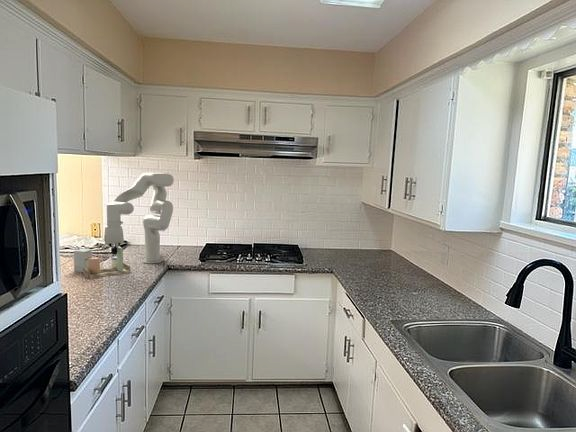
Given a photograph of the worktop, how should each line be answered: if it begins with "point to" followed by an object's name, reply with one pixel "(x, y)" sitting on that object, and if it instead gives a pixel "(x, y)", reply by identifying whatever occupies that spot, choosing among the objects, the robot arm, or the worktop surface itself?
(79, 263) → the supplement box
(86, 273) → the lane
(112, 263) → the cream jar
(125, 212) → the robot arm
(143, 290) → the worktop surface
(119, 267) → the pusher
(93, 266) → the ball
